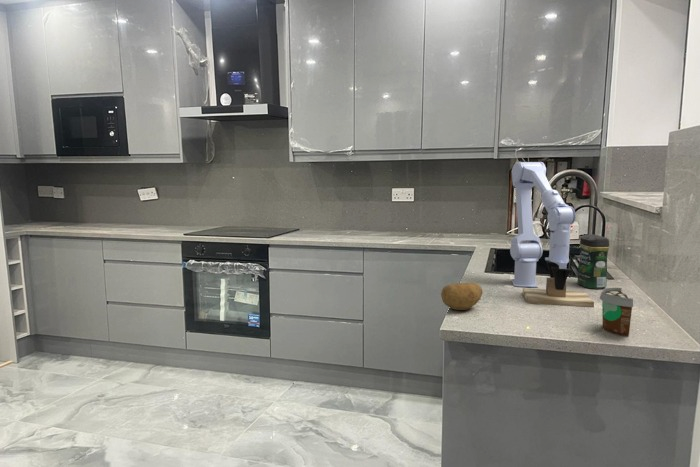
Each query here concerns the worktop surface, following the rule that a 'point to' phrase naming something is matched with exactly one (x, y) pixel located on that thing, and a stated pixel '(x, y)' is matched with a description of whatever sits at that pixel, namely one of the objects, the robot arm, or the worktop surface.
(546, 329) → the worktop surface
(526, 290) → the oak board
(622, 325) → the food container
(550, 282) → the walnut cube
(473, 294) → the potato
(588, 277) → the coffee jar
